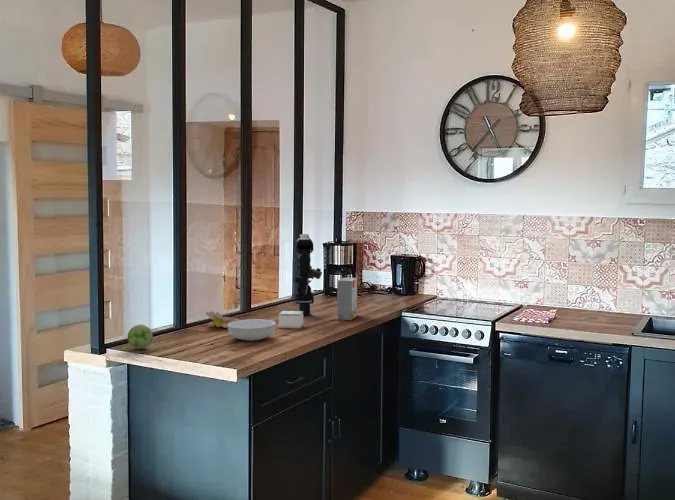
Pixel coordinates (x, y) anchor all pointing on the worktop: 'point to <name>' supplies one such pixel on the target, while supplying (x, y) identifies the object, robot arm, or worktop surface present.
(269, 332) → the serving bowl
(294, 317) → the keepsake box
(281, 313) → the lid
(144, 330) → the decorative ball
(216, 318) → the decorative flower
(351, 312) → the hard drive box
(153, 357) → the worktop surface
